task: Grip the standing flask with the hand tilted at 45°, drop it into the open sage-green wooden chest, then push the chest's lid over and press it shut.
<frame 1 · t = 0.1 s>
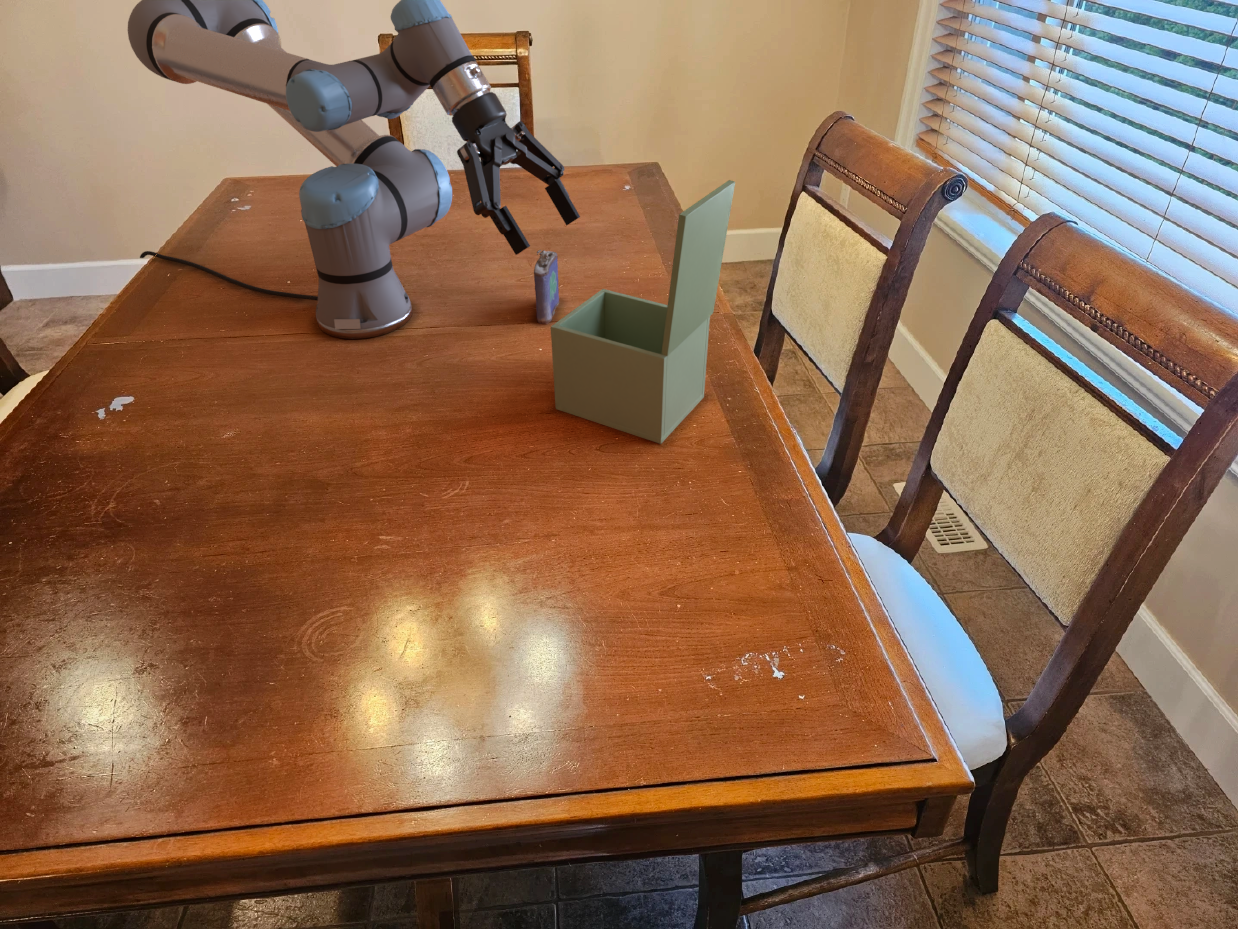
hand: (549, 235, 121), 15 cm above the table, tool tilted 35°, fingers open, 13 cm apart
flask: (547, 312, 134), on the table
lid: (697, 268, 95), point 22 cm above the table, hinge at 95.0°
chest: (630, 403, 112), on the table
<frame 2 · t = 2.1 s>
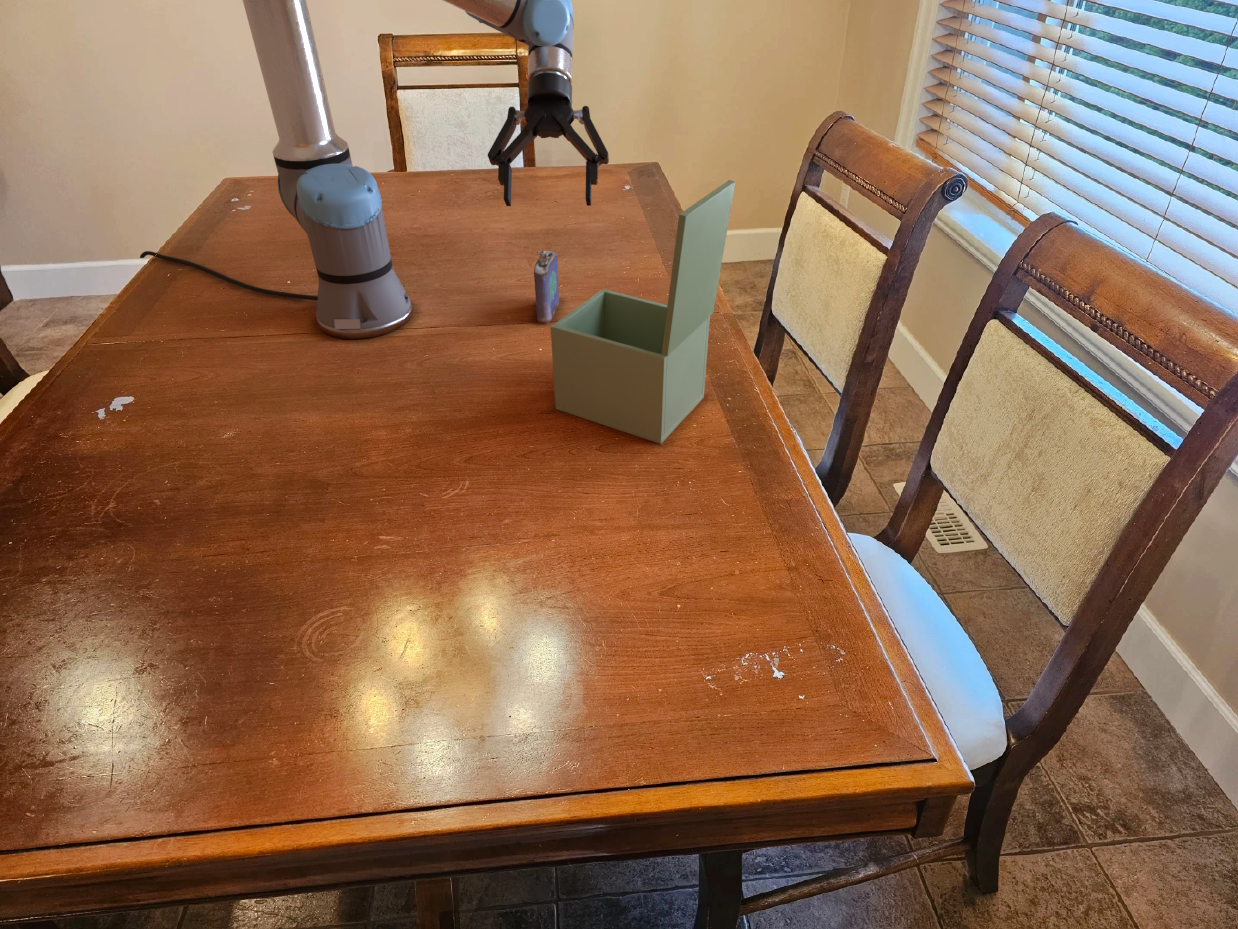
hand: (547, 202, 133), 15 cm above the table, tool tilted 45°, fingers open, 13 cm apart
nothing on the table moved.
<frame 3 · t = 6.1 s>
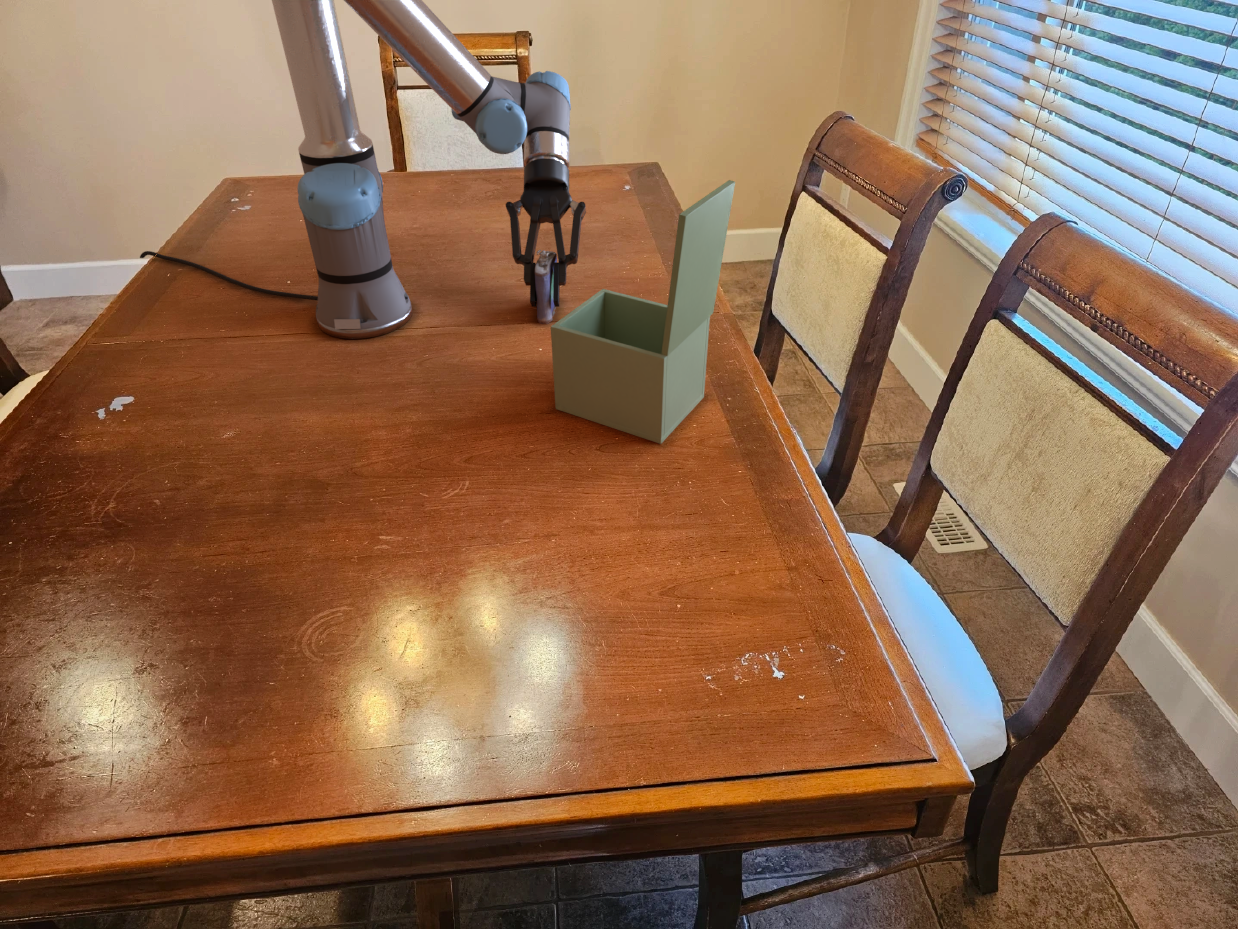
hand: (544, 303, 129), 3 cm above the table, tool tilted 45°, fingers closed on flask, 3 cm apart
flask: (547, 312, 134), on the table, touching gripper
everything else where it was.
when the fingers open (16 cm above the table, at t = 13.4 s): flask drops 12 cm, resting on chest.
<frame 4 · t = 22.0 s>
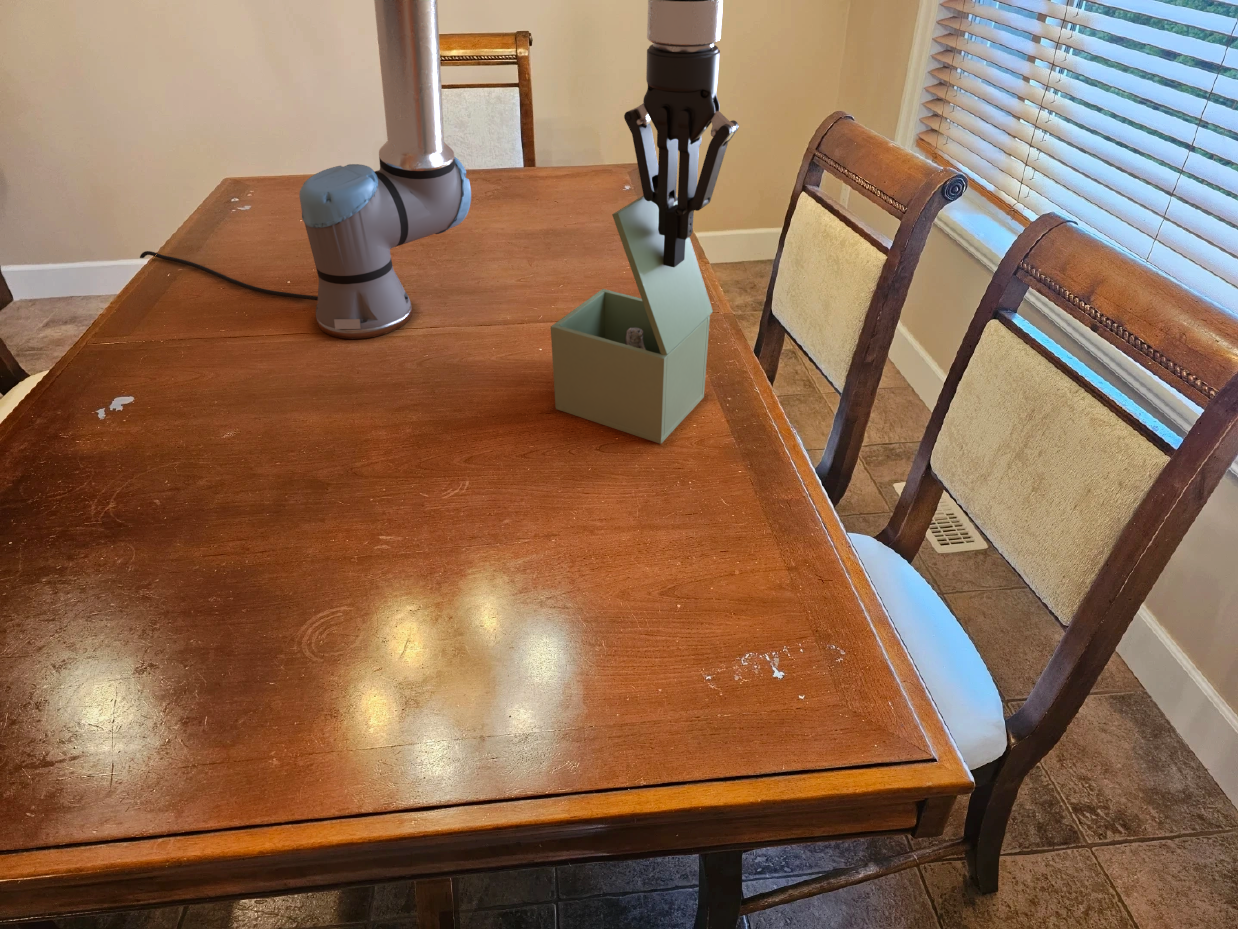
hand: (673, 261, 96), 22 cm above the table, tool pointing down, fingers closed
flask: (635, 400, 111), point 1 cm above the table, touching chest
lid: (666, 266, 97), point 21 cm above the table, hinge at 67.0°, touching gripper
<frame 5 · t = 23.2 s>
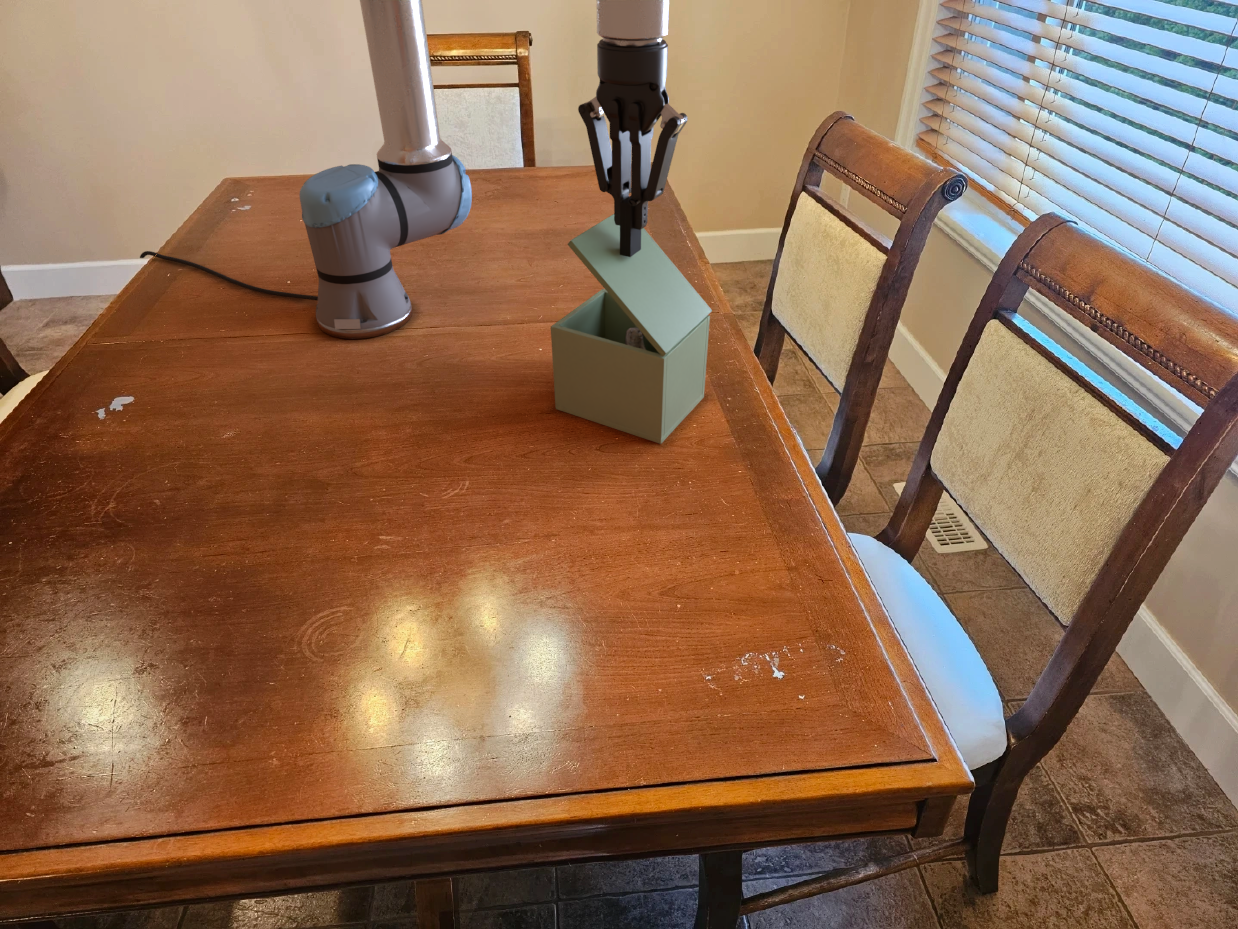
hand: (630, 251, 98), 22 cm above the table, tool pointing down, fingers closed
lid: (643, 279, 99), point 19 cm above the table, hinge at 41.2°
everything else where it was.
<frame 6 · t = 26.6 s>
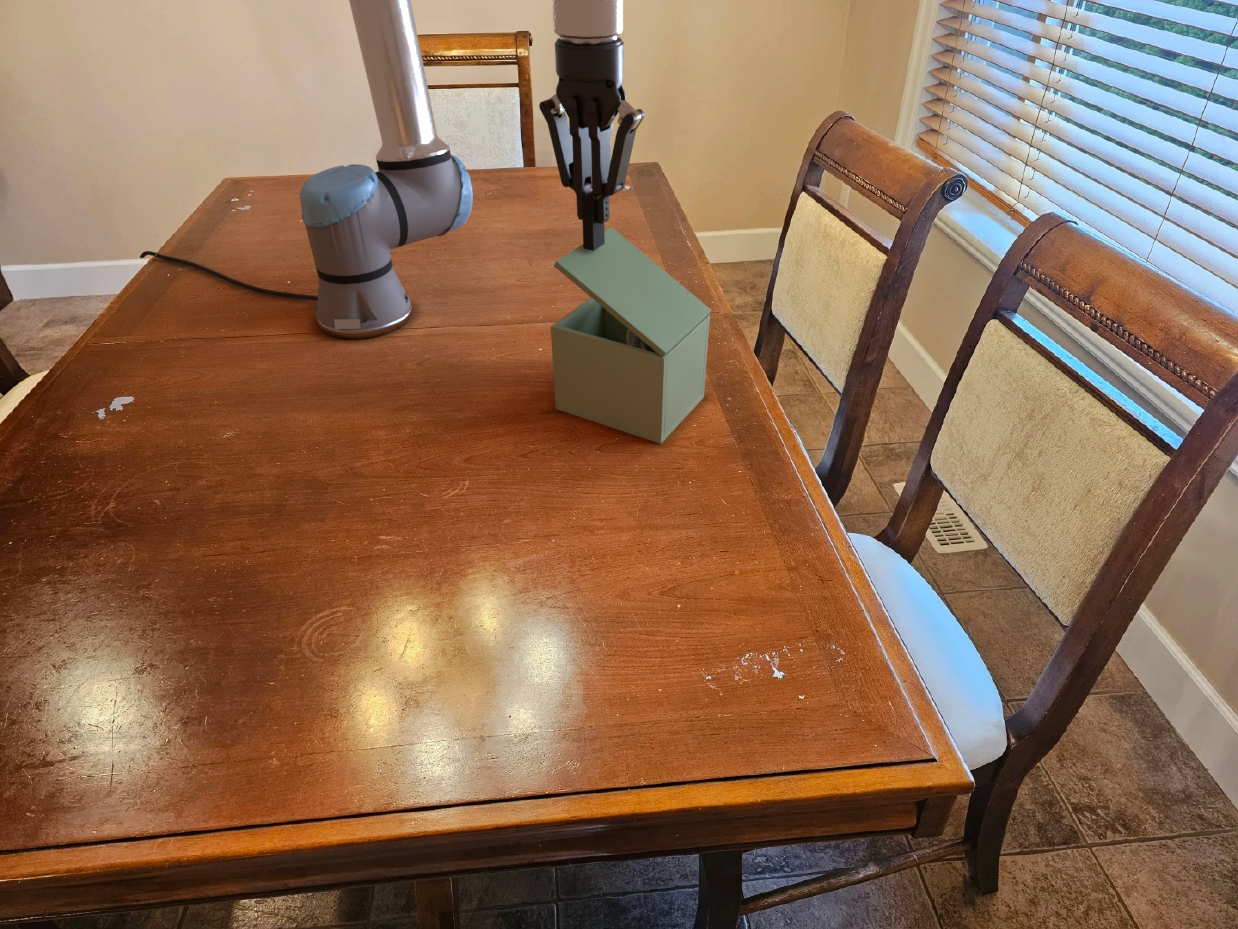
hand: (594, 245, 100), 22 cm above the table, tool pointing down, fingers closed
lid: (635, 288, 101), point 17 cm above the table, hinge at 28.5°, touching gripper
everything else where it was.
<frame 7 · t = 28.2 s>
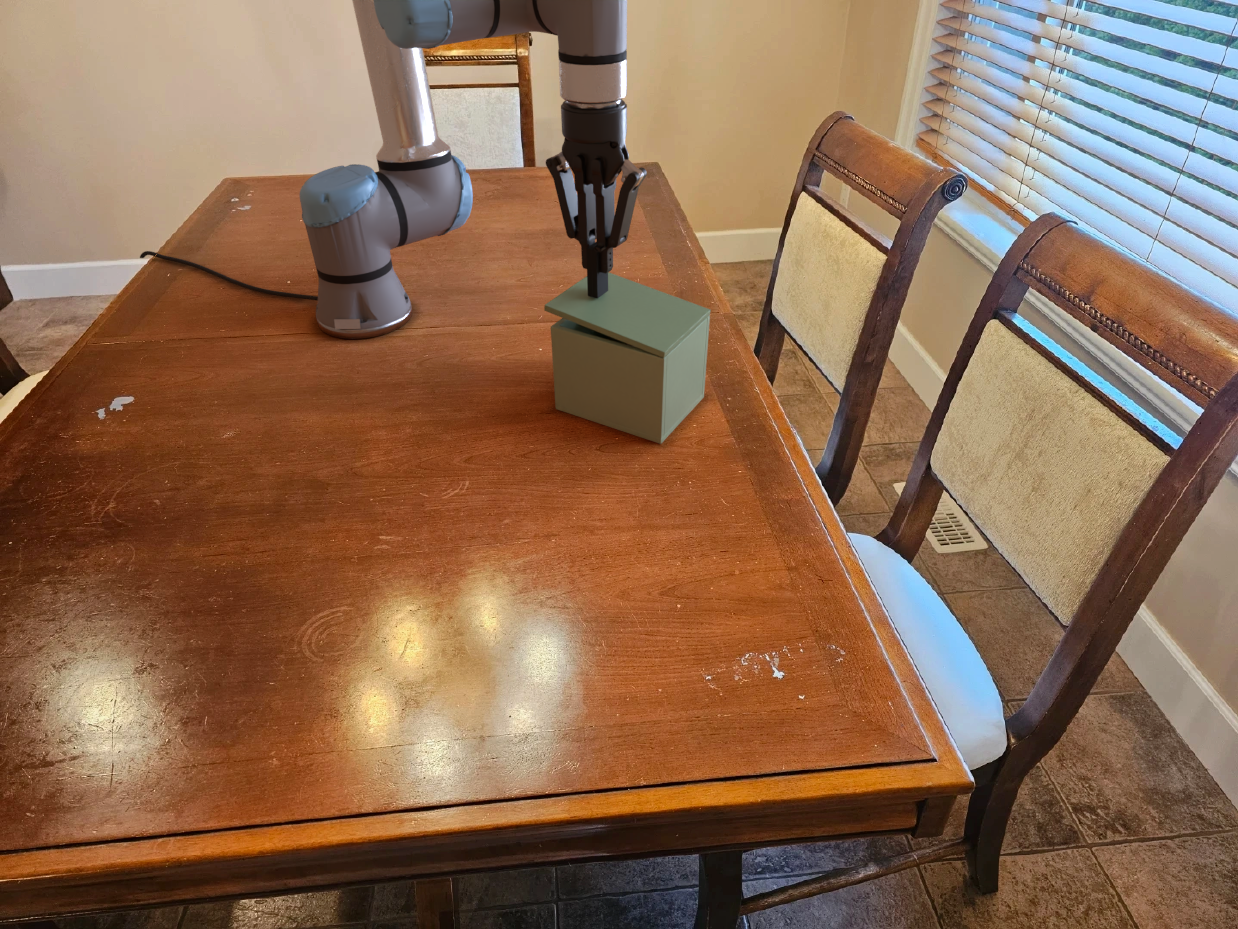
hand: (598, 293, 104), 16 cm above the table, tool pointing down, fingers closed
lid: (628, 310, 103), point 14 cm above the table, hinge at 6.5°
everything else where it was.
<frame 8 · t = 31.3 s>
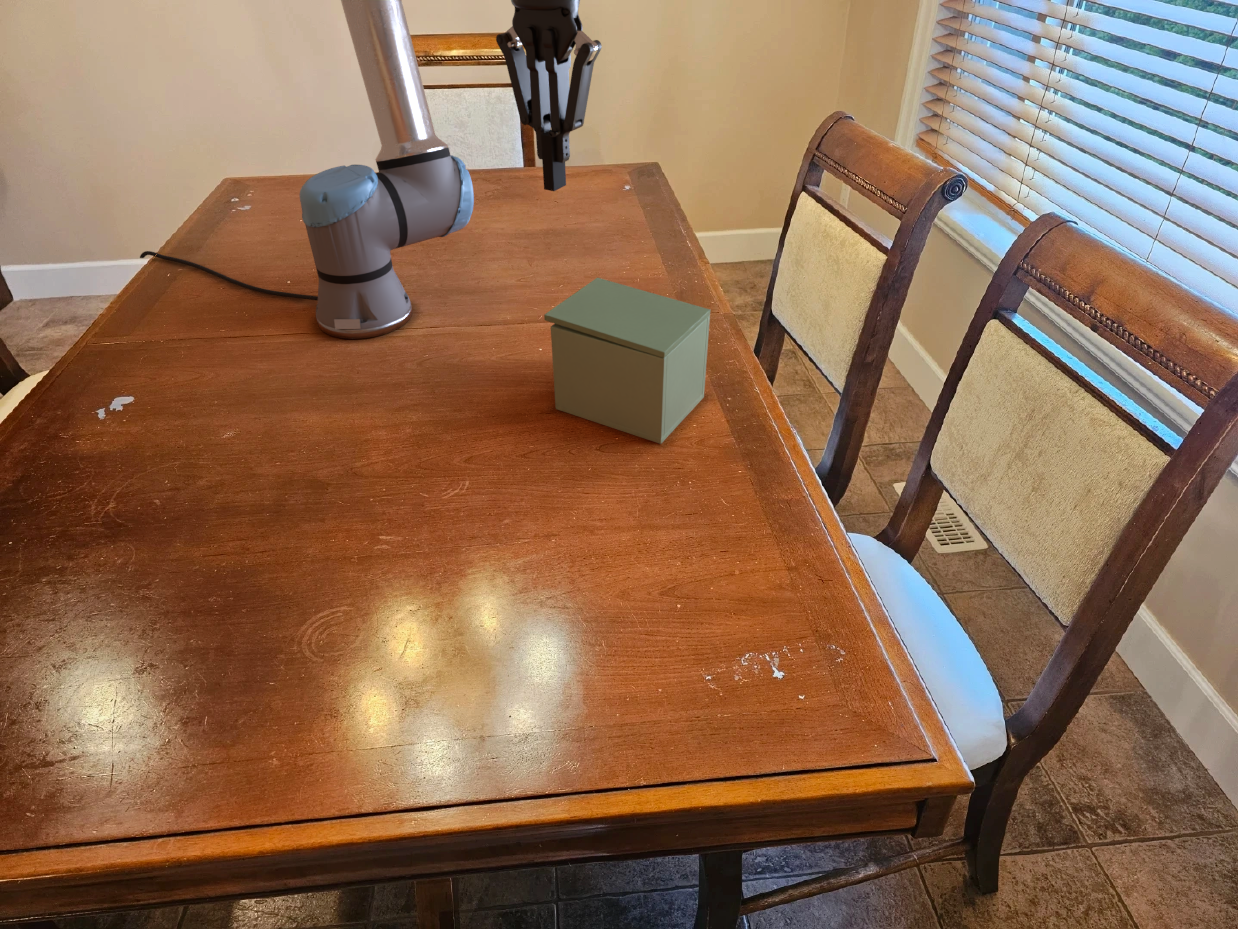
hand: (555, 186, 99), 28 cm above the table, tool pointing down, fingers closed
lid: (628, 314, 104), point 14 cm above the table, hinge at 1.9°
everything else where it was.
at the end: flask inside the target area in the chest (0.7 cm from its centre), point 0.6 cm above the chest's base; lid at +2° (first picture: +95°) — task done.
